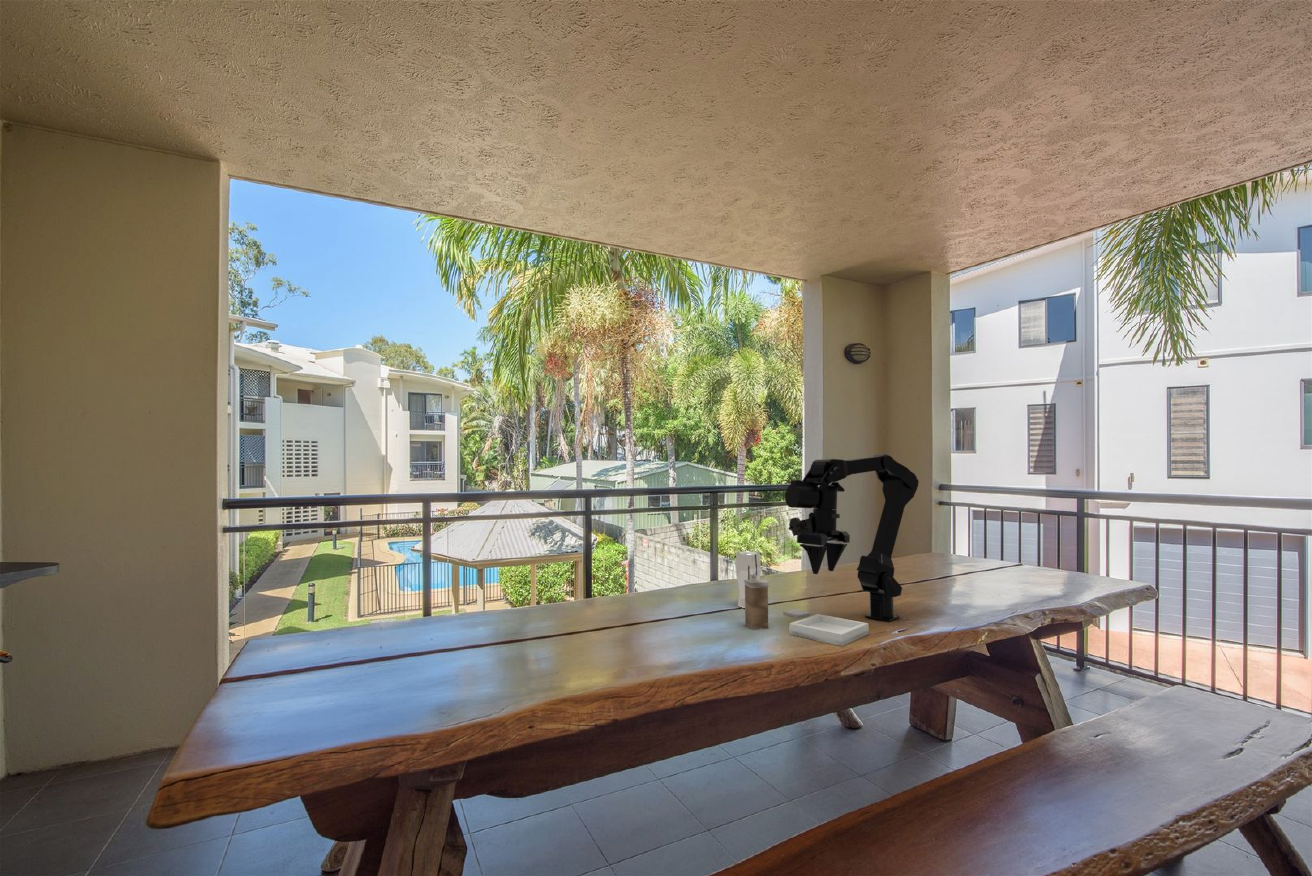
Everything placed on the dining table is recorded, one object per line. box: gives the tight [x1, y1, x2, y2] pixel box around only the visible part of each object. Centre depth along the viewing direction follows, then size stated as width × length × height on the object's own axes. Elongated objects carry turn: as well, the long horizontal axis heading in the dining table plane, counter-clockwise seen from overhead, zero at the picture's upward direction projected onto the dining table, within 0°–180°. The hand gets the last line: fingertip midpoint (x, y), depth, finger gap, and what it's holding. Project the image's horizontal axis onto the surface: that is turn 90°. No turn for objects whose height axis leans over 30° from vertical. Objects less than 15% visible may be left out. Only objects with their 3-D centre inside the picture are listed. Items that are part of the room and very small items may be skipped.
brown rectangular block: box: [744, 578, 769, 630], centre depth 140 cm, size 4×4×11 cm
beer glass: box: [735, 550, 762, 609], centre depth 161 cm, size 7×7×15 cm
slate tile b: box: [782, 608, 812, 619], centre depth 151 cm, size 5×5×1 cm
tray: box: [788, 613, 870, 647], centre depth 133 cm, size 13×13×2 cm
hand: (823, 572), depth 142 cm, fingers open, 9 cm apart
